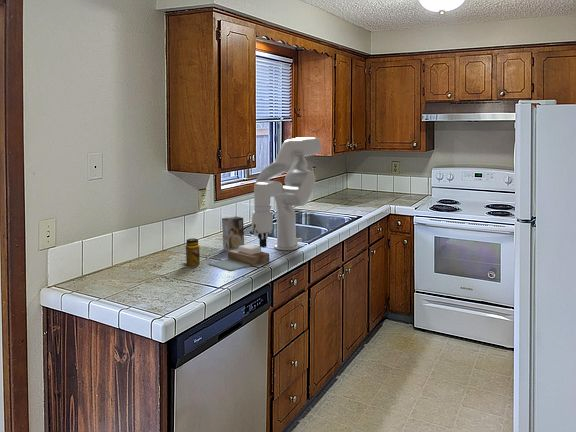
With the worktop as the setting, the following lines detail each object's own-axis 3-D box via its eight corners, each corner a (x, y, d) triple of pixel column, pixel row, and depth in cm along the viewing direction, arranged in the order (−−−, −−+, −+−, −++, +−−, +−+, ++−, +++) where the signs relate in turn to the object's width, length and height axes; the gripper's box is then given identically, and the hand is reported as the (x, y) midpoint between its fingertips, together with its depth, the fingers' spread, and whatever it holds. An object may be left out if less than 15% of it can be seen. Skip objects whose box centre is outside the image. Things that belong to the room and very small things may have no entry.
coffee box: (238, 246, 284) (237, 216, 281) (244, 248, 279) (243, 217, 276) (222, 249, 278) (221, 218, 275) (229, 251, 273) (228, 219, 270)
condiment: (201, 266, 246) (200, 240, 244) (182, 268, 244) (181, 241, 242) (200, 262, 253) (199, 237, 251) (181, 263, 251) (180, 238, 249)
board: (244, 255, 265) (243, 247, 264) (269, 261, 253) (269, 253, 252) (227, 259, 258) (227, 250, 258) (253, 266, 246) (252, 257, 245)
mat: (228, 259, 257) (228, 258, 257) (250, 265, 246) (250, 264, 246) (208, 264, 249) (208, 263, 249) (230, 271, 238) (230, 270, 238)
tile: (248, 249, 261) (248, 244, 260) (261, 252, 254) (261, 247, 254) (238, 251, 256) (238, 246, 256) (251, 254, 250) (251, 249, 250)
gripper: (268, 206, 266) (269, 243, 269) (245, 209, 255) (245, 248, 258) (279, 207, 260) (279, 245, 264) (255, 211, 250) (256, 250, 253)
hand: (263, 246), depth 261 cm, fingers closed
